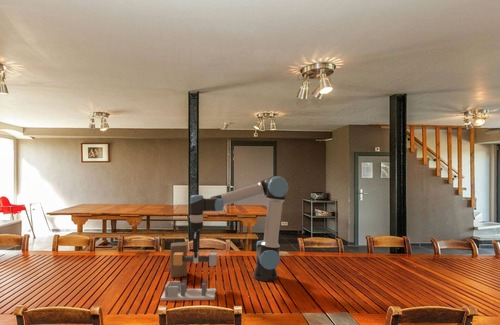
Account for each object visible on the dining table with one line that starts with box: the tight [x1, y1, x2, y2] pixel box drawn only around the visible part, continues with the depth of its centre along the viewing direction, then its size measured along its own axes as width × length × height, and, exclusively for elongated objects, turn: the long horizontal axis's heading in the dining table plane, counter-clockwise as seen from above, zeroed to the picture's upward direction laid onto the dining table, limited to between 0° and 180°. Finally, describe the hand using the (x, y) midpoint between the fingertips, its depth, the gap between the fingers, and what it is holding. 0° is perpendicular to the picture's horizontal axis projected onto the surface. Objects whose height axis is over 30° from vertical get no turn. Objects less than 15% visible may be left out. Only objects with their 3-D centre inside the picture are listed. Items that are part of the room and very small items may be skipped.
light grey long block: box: [160, 279, 217, 301], centre depth 167 cm, size 28×12×7 cm, turn 92°
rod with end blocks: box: [173, 252, 218, 267], centre depth 179 cm, size 24×5×6 cm, turn 92°
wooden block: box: [170, 241, 188, 278], centre depth 199 cm, size 10×10×20 cm
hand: (196, 262), depth 179 cm, fingers closed on rod with end blocks, 3 cm apart
